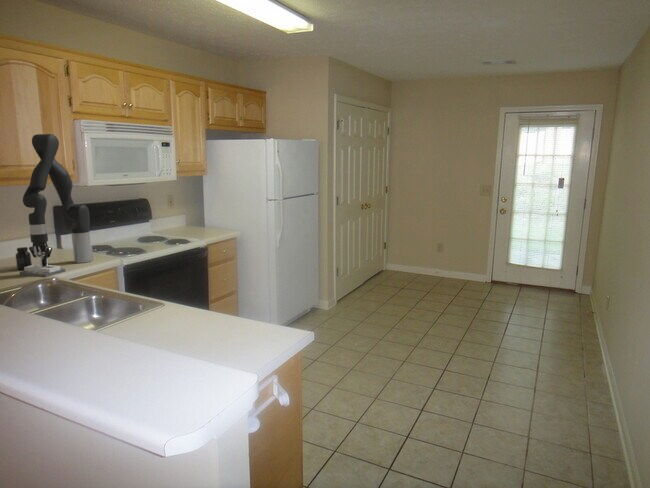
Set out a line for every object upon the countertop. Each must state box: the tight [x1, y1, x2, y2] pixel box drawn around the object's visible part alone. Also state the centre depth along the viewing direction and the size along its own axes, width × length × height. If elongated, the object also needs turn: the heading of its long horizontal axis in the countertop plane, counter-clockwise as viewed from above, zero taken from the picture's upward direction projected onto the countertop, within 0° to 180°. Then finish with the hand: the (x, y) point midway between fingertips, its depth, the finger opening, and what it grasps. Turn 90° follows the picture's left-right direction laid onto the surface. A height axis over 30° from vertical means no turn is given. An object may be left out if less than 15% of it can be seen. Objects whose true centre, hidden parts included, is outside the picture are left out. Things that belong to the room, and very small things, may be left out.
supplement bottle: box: [15, 246, 33, 271], centre depth 243 cm, size 7×7×12 cm
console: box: [19, 263, 66, 278], centre depth 234 cm, size 12×17×4 cm
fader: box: [35, 255, 49, 268], centre depth 233 cm, size 4×4×7 cm
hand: (42, 265), depth 233 cm, fingers closed on fader, 2 cm apart
